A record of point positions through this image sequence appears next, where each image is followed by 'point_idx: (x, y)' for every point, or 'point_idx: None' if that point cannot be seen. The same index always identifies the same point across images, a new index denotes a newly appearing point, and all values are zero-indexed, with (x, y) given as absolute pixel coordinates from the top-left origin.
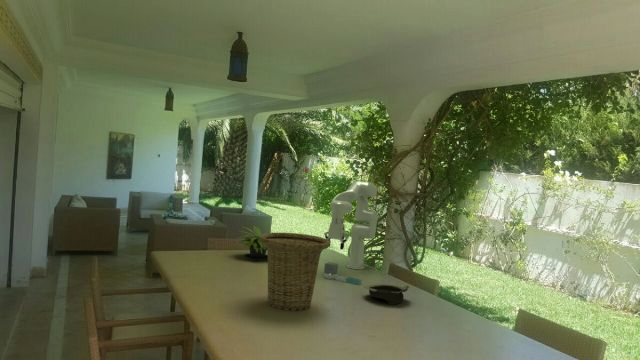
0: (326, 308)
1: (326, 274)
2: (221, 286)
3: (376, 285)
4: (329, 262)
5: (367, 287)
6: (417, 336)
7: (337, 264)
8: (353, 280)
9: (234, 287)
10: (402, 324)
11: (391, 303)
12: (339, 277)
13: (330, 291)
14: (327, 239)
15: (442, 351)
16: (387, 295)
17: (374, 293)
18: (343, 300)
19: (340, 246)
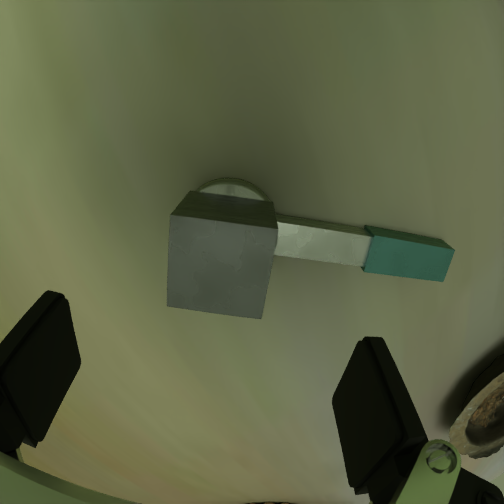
0: (344, 501)
1: None
2: (83, 484)
3: (500, 381)
4: (178, 238)
5: (461, 427)
6: (480, 475)
7: (275, 242)
8: (410, 275)
9: (101, 485)
10: (477, 464)
11: (499, 408)
12: (311, 258)
13: (323, 433)
14: (4, 452)
15: (489, 480)
16: (497, 430)
17: (470, 435)
18: None
19: (342, 438)
